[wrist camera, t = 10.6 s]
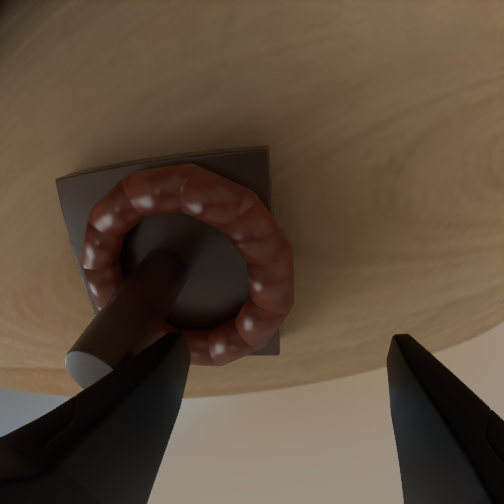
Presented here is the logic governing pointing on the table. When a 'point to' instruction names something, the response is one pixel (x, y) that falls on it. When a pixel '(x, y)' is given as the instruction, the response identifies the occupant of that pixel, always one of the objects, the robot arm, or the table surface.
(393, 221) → the table surface
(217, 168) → the post
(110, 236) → the ring
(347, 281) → the table surface
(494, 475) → the robot arm
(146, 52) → the table surface
